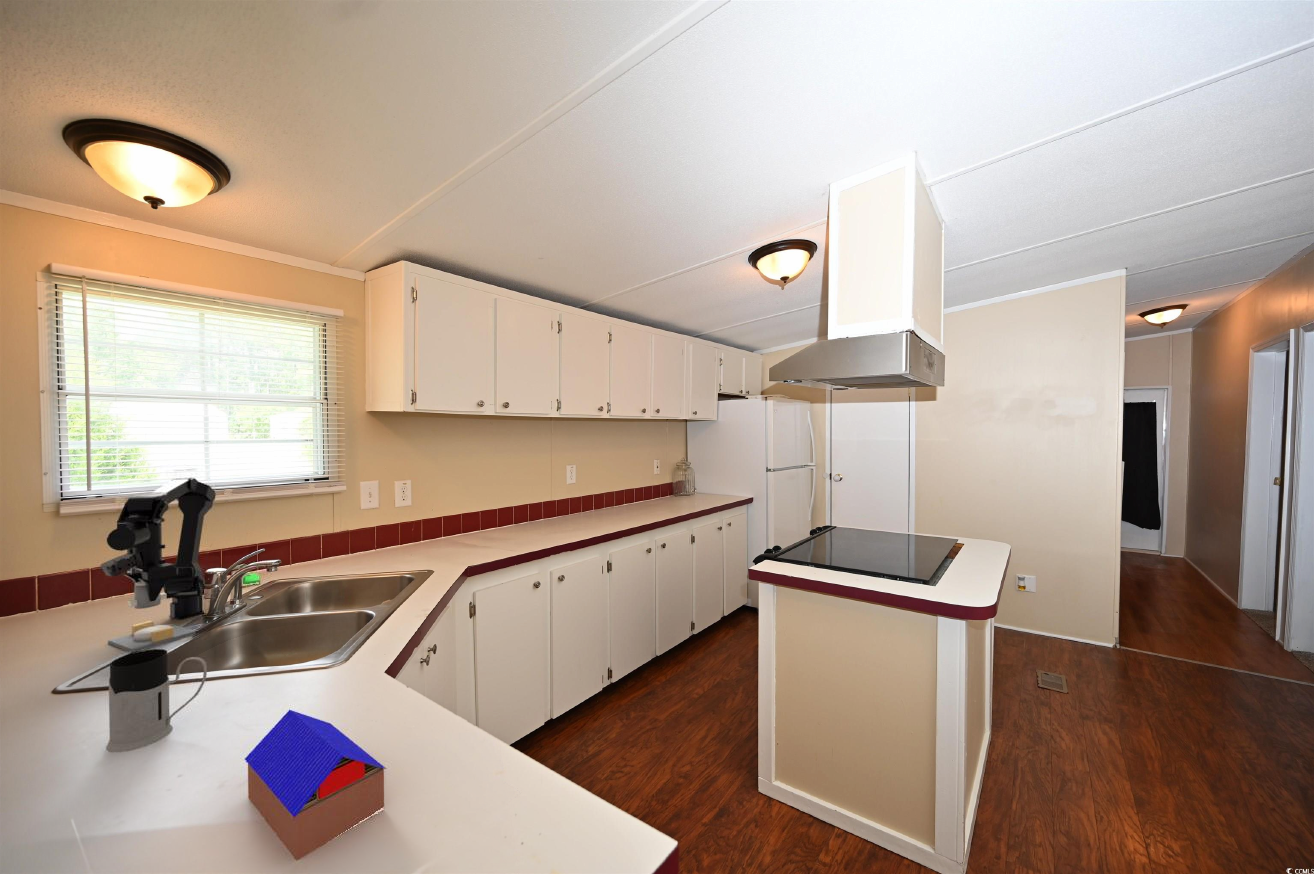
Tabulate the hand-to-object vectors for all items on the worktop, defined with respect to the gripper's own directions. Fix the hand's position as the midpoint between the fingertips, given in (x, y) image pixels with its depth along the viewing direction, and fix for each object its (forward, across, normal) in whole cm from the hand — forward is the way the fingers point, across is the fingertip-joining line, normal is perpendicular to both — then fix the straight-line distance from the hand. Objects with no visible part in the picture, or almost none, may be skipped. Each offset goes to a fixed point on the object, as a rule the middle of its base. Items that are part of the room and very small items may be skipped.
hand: (148, 599), depth 139 cm
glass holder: (+11, +59, -19) cm, 63 cm away
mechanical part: (+12, -35, +40) cm, 55 cm away
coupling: (+2, 0, 0) cm, 2 cm away
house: (+11, +103, -18) cm, 105 cm away
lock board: (+11, +1, +1) cm, 11 cm away
